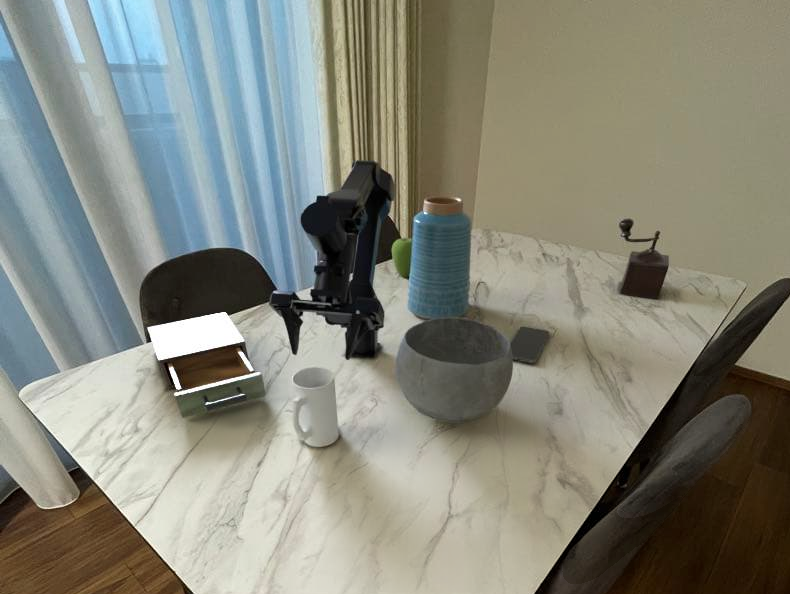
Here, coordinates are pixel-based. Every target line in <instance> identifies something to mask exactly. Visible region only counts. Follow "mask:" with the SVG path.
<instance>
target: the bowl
mask: <svg viewBox="0 0 790 594" xmlns="http://www.w3.org/2000/svg"><path fill="white" fill-rule="evenodd" d="M510 343H511V341H510V340H509V338H508V337H507V336H506V335H505V334H504V333H502V332H501V331H499V330H498V329H497V328H496V327H494V326H493V325H490V324H488V323H485V322H481V321H479V320H477V319H473V318H468V317H441V318H434V319H431V320H427V319H426V320H425V321H422V322H419V323H417V324H415V325H412V326H411V327H409V329H407V330H406V331H405V334H404V335H403V337H402V339H401V340H400V344H399V347H398V350H397V353H396V358H395V374H396V375H395V376H396V381H397V384H398V387H399V390H400V392H401V393H402V395H403V397H404V398H405V399H406V401H407V402H408V403H409V404H410V405H411V406H412V407H413V408H414V409H415V410H416V411H417V412H419V413H420V414H422V415H424V416H426V417H428V418H430V419H432V420H436V421H438V422H439V421H440V422H442V423H448V424H463V423H468V422H471V421H475V420H477V419H479V418H481V417H483V416H485V415H487V414H489V413H490V412H492V411H493V410H494V409H495V408H497V406H498V405H499V404H500V403H501V402H502V400H503V399H504V397H505V396H506V394H507V392H508V390H509V387H510V384H511V380H512V378H513V370H514V360H513V355H512V350H511V345H510Z"/></svg>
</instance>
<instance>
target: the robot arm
mask: <svg viewBox="0 0 790 594" xmlns="http://www.w3.org/2000/svg"><path fill="white" fill-rule="evenodd" d="M395 198H396V185H395V181H394V179H393V176H392V174H391V173H389V172H388V171H386V170H384V169H383V168H382V167H381V165H380V163H379V162H376V161H375V160H363V159H362V160H361V159H357V160H356V161H352V164H351V170H350V172H349V173H348V175H347V177H346V178H345V181H344V183H343V184H342V185H341V187H340V188H339V189H338V190H335V191H332V192H328V193H327V194H326V195H318V194H317V195H316V200H315V201H314V202H311V203H310V204H309V205H308V206H306V207H305V208H304V209H303V211H302V213H300V226H301V228H302V229H303V232H304V233H305V235H306V237H307V238H308V240H309V241H310V244H311V245H312V247H313V248H314V250H315V251H317V252H318V258H317V264H314V267H313V273H314V274H315V278H314V283H313V288H310V291H309V295H310V297H311V300H310V299H301V298H300V297H299V296H298V295H297V293H296V292H295V291H291V290H290V291H289V290H279V289H278V290H277V289H275V290H274V291H273V292H272V293H271V294H270V295H269V301H268V306H269V307H270V308H271V309H272V310H273V311H274V312H275V313H276V314H277V315H278V316H279V317H280V318H282V320H283V322H284V326H285V328H286V333H287V336H288V340H289V345H290V349H291V353H292V355H294V356H297V354H298V351H299V345H300V334H301V333H300V332H301V327H302V325H303V324H304V320H303V319H302V318H301V317H303V316H304V313H315V315H316V316H321V317H322V318H324V321H325V323H326V324H328V325H329V326H335V325H336V326H340V328H341V329H346V330H345V332H344V340H345V341H344V342H345V357H344V358H345V360H346V361H350V360H351V358H352V357H361V358H372V359H373V358H375V357H376V355H377V352H378V351H379V348H380V346H381V344H380V342H379V335H378V333H379V330H380V329H383V328H384V326H385V310H384V307H383V305H382V303H381V301H380V299H379V298H378V296H377V293H376V291H375V289H374V280H375V272H376V263H377V257H378V250H379V244H380V243H379V241H380V235H381V228H382V222H383V221H384V220H385V219H386V217H387V216H388V215H389V214H390V212H391V209H392V203H393V202H394V201H395ZM348 235H353V236H357V239H356V246H355V244H354V243H353V241H352V239H351V238H350V237H349V236H348ZM354 251H355V252H354ZM353 258H354V261H353ZM352 264H353V265H352ZM352 266H353V268H352ZM351 270H352V272H351ZM351 273H352V275H351Z"/></svg>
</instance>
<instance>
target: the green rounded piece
mask: <svg viewBox="0 0 790 594" xmlns="http://www.w3.org/2000/svg"><path fill="white" fill-rule="evenodd" d="M411 251H412V238H410V237H406V236H405V237H401V238H398V239H396V240H395V241H394V242H393V244H392V246H391V256H392V257H391V258H392V261H393V265H394V267H395V269H396V272H397V273H398V274H399V276H400V277H401V278H408V277H409V274H410V266H411V265H410V264H411Z"/></svg>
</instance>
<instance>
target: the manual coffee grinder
mask: <svg viewBox="0 0 790 594" xmlns="http://www.w3.org/2000/svg"><path fill="white" fill-rule="evenodd" d="M633 227H634V220H633V219H632V218H624V219H622V220H621V221H620V222H619V223H618V228H619V230H620V231H621V234H620V237H621V238H623V240H625V242H628V243H648V242H652V244H651V246H650V247H649V248H647V249H645V250H642V251H633V250H631V252H630V254H629V258H628V261H627V263H626V267H625V269H624V272H623V277H622V280H621V283H620V286H619V293H620V295H624V296H629V297H637V298H642V299H643V298H644V299H652V300H658V299H659V297H660V294H661V291H662V288H663V285H664V282H665V279H666V276H667V273H668V271H669V266H670V256H669V255H668V254H663V253H662V254H661V252H659V251H658V250H656V245H657V241H658V240H659V239H660V234H661V231H660V230H656V231H655V233H654V236H653V237H649V238H630V236H632V232H631V230H632V228H633Z"/></svg>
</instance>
